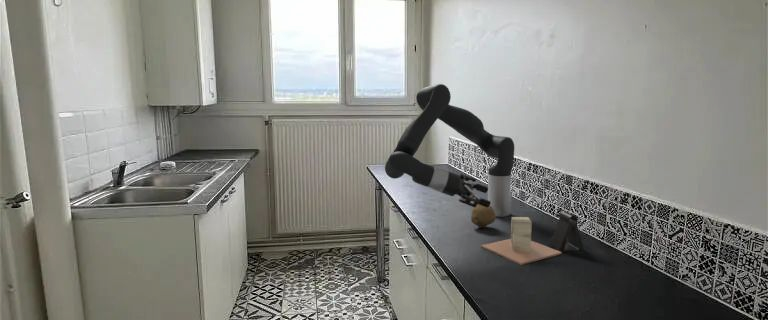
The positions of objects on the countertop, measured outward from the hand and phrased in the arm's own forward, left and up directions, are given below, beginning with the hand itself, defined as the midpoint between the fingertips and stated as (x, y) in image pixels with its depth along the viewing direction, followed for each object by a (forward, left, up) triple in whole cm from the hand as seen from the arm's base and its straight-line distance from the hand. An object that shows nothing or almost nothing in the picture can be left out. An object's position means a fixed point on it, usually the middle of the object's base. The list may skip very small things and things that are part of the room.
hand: (488, 197), depth 150 cm
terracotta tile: (-6, +9, -17) cm, 20 cm away
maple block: (-6, +9, -16) cm, 20 cm away
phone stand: (-21, +15, -17) cm, 31 cm away
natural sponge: (-12, -16, -17) cm, 27 cm away
